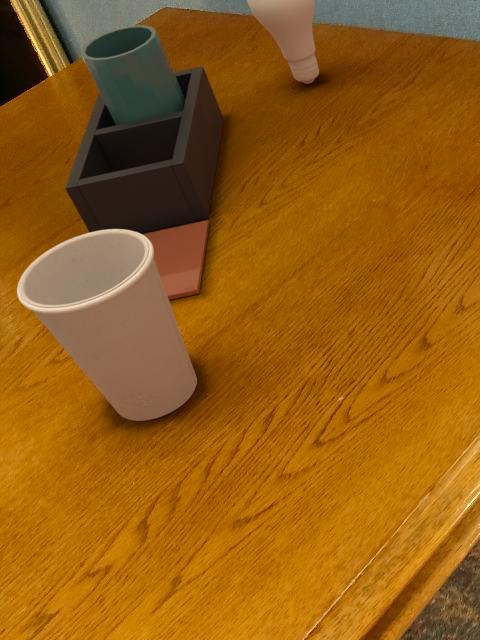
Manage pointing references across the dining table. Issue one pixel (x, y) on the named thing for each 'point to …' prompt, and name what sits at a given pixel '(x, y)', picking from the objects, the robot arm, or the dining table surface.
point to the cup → (133, 74)
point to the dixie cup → (113, 320)
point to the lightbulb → (291, 32)
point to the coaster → (180, 257)
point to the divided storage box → (149, 164)
